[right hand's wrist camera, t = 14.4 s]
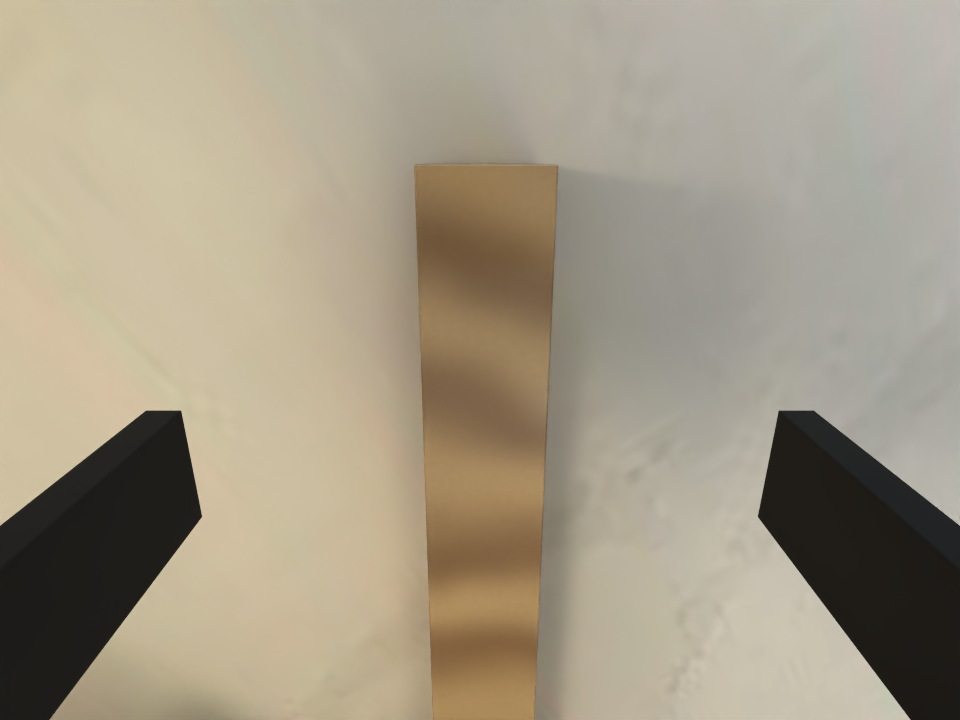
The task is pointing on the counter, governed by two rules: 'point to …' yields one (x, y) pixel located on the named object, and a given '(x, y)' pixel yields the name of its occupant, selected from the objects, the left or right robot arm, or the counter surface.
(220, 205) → the counter surface
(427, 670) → the counter surface
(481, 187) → the beam
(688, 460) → the counter surface
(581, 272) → the counter surface
